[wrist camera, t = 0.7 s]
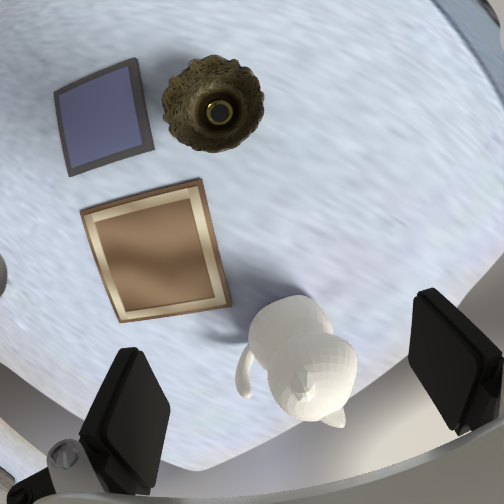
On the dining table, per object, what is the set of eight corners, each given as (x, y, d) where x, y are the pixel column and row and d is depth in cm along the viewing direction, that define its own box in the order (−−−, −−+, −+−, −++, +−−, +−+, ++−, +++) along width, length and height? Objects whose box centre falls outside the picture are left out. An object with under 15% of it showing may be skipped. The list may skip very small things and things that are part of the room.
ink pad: (57, 92, 25) (52, 91, 24) (137, 59, 25) (134, 56, 24) (72, 176, 29) (67, 177, 28) (154, 149, 28) (151, 150, 27)
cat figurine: (344, 320, 36) (390, 410, 22) (261, 372, 38) (269, 469, 24) (305, 266, 33) (345, 353, 19) (215, 328, 35) (203, 429, 21)
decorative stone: (17, 476, 58) (-7, 460, 55) (11, 490, 51) (-13, 474, 49) (17, 484, 62) (-5, 470, 59) (12, 497, 55) (-10, 483, 53)
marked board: (81, 210, 30) (79, 212, 30) (202, 178, 30) (201, 179, 29) (120, 321, 35) (119, 324, 34) (231, 304, 34) (231, 307, 34)
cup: (213, 165, 29) (204, 173, 22) (166, 110, 27) (141, 100, 20) (274, 118, 28) (285, 110, 20) (226, 63, 26) (221, 37, 18)
